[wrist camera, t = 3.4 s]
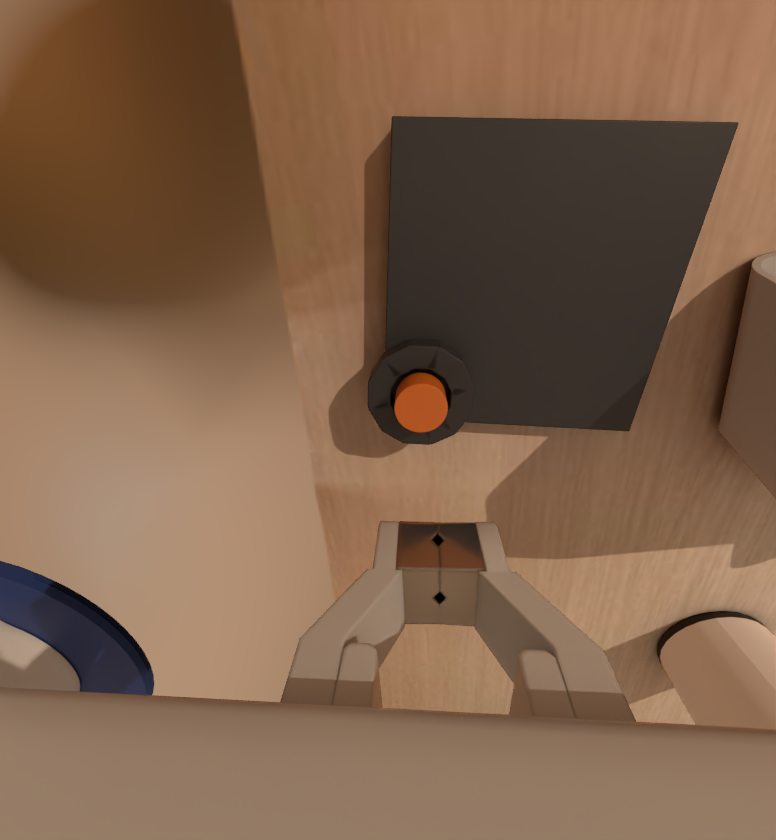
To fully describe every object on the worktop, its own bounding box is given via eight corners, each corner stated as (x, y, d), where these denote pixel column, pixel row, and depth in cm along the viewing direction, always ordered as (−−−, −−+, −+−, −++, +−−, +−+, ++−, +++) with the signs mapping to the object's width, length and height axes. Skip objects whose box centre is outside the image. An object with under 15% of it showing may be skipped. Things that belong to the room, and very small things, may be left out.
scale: (372, 418, 23) (367, 441, 20) (377, 125, 17) (369, 101, 14) (613, 432, 22) (640, 457, 20) (713, 131, 16) (775, 108, 13)
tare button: (394, 416, 20) (393, 431, 18) (396, 371, 19) (395, 382, 17) (442, 419, 20) (445, 434, 18) (447, 373, 19) (450, 385, 17)
